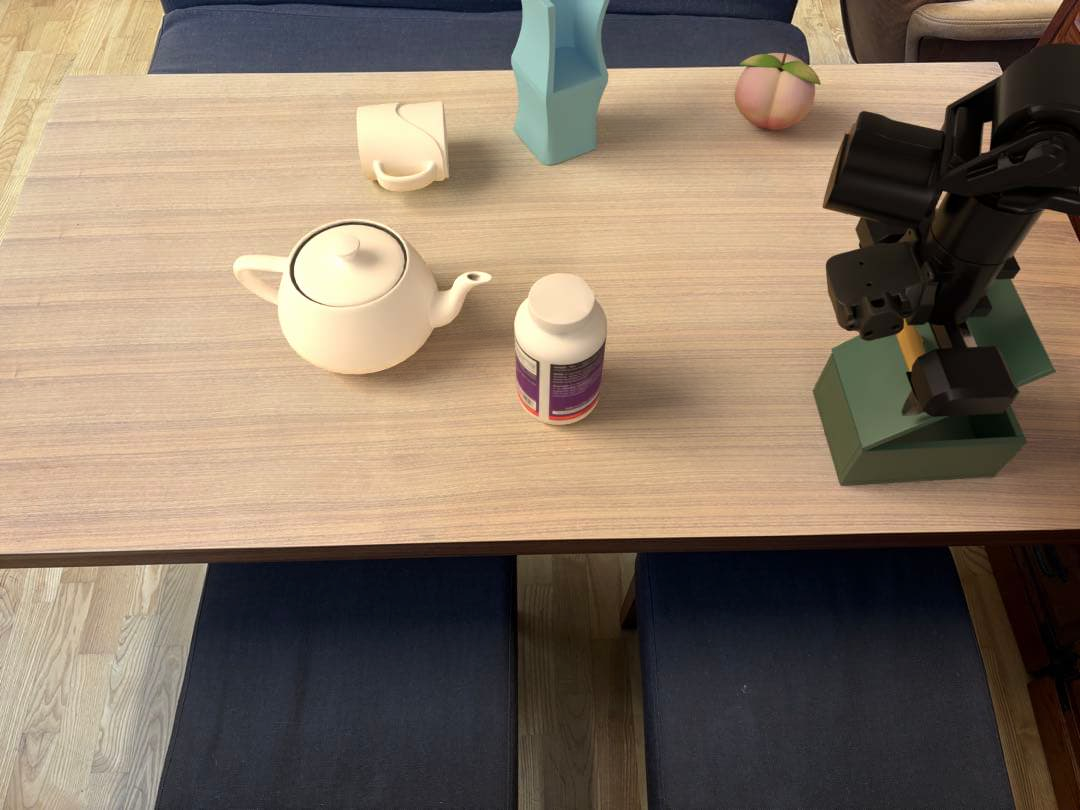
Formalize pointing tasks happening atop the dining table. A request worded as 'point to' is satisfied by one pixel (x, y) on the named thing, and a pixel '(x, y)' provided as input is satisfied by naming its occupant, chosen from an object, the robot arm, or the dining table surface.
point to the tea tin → (915, 443)
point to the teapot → (356, 296)
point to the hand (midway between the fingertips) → (891, 367)
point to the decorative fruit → (775, 90)
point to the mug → (403, 144)
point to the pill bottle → (559, 349)
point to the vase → (559, 77)
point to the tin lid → (882, 363)
